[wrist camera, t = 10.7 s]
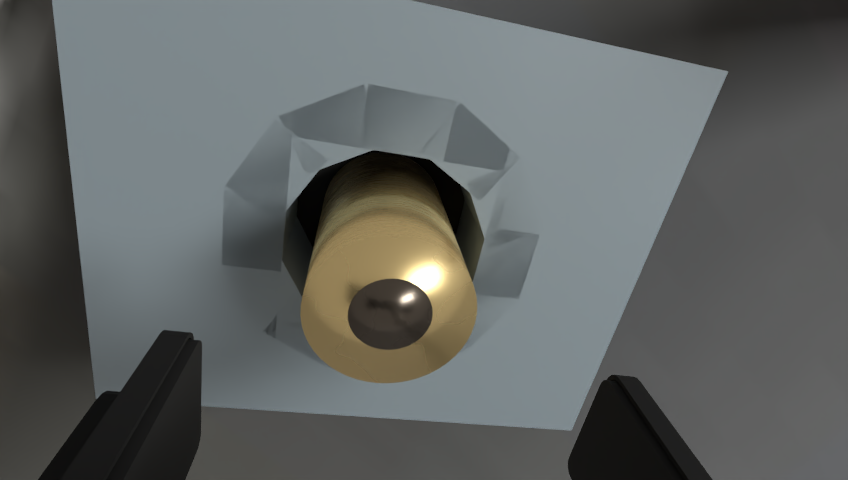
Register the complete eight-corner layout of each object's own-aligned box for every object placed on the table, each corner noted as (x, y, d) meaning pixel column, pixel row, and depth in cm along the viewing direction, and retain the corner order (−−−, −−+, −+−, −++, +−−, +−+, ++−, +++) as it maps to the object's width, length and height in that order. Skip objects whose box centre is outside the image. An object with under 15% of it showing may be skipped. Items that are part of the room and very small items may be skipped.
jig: (661, 59, 19) (728, 71, 16) (543, 371, 26) (571, 430, 22) (116, -62, 16) (42, -83, 12) (139, 335, 22) (95, 399, 19)
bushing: (450, 162, 20) (496, 249, 13) (427, 266, 22) (456, 389, 15) (330, 142, 19) (309, 223, 12) (317, 252, 21) (292, 376, 14)
